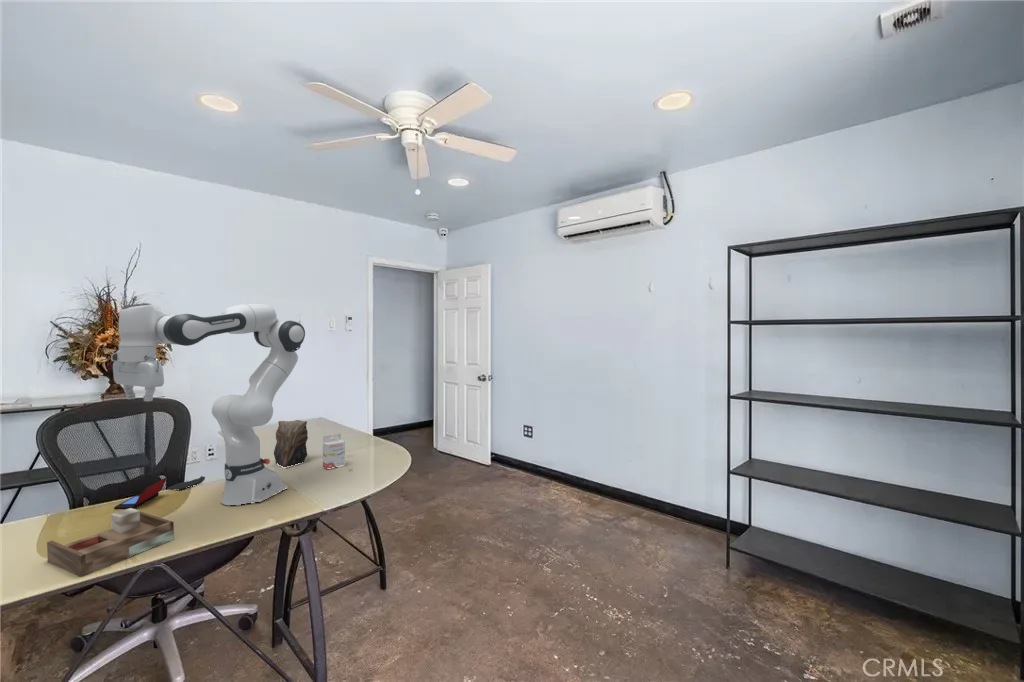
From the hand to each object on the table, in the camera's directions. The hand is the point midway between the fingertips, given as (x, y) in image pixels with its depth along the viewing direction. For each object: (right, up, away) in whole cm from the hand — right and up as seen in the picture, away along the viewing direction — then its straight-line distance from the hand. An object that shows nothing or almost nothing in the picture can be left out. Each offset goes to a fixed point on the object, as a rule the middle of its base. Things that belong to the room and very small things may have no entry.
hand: (139, 400), depth 138 cm
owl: (+11, -40, +71) cm, 82 cm away
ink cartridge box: (+34, -40, +67) cm, 85 cm away
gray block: (-3, -39, -1) cm, 40 cm away
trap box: (0, -43, -9) cm, 43 cm away
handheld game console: (-21, -42, +26) cm, 53 cm away
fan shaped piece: (-16, -41, +44) cm, 62 cm away
